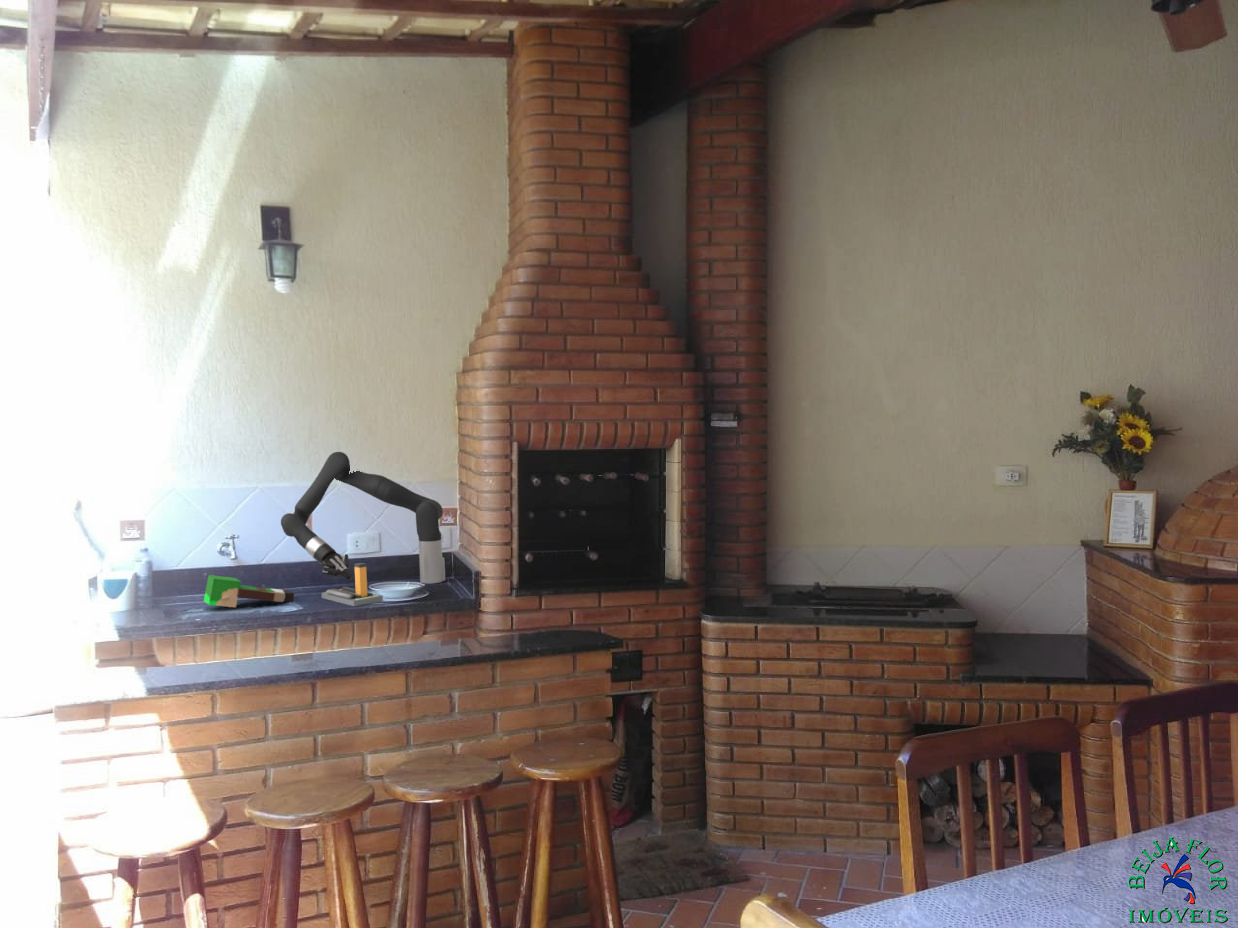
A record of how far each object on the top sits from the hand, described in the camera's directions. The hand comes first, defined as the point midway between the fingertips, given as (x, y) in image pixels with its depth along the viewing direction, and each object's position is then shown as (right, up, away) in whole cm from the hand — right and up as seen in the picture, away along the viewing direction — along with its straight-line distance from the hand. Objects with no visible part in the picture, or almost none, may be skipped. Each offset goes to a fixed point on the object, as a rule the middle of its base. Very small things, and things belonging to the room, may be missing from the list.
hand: (351, 577), depth 411 cm
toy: (-34, -9, -14) cm, 38 cm away
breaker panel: (+2, -7, -8) cm, 11 cm away
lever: (+7, -5, -14) cm, 17 cm away
